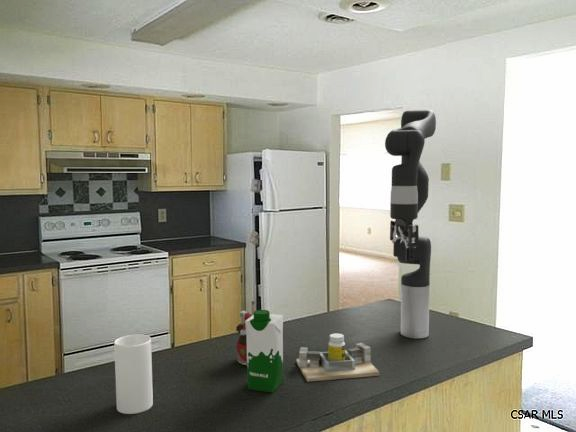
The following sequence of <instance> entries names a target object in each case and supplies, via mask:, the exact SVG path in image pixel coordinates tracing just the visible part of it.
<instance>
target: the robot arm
mask: <svg viewBox="0 0 576 432" xmlns="http://www.w3.org/2000/svg"><path fill="white" fill-rule="evenodd" d="M400 118H401V121H400V127H399V128H395V129H392V130H390V131H389V132H388V134H387V135H386V137H385V142H384V146H385V150H386V152H387V153H388V154H389V155H391V156H393V157H401V164H395V165H394V166H392V168H391V187H390V188H391V190H390V202H389V203H390V204H389V205H390V212H389V213H390V214H389V215H390V218H391V219H392V220H390V223H389V225H390V227H389V228H390V231H389V240H390V241H391V243H392V244H393V250H392V251H393V253H392V254H393V257H395V258H397V261H398V263H400V264H406V265H407V264H408V265H419V268H418V269H415V270H414V271H411V272H407V273H404V274H402V276H401V278H400V283H401V284H400V335H401V336H403V337H406V338H410V339H425V338H427V337H429V334H430V333H429V331H430V326H429V325H430V285H431V284H430V282H431V281H430V275H431V273H430V272H431V271H430V270H431V257H432V256H431V255H432V243H431V240H430V238H429V237H428V236H419V225H418V224H413V223H414V220H416V219H418V214H419V213H420V211H422V210H421V209H423V207H424V205H425V204H426V203H427V201H428V197H429V185H430V184H429V182H430V181H429V179H430V178H429V175H428V172H427V171H426V169H425V167H424V166H423V164H422V163H421V162H420V159H421V155H422V154H423V150H424V147H425V143H426V141H425V139H427V138H431V137H433V136H434V135H435V132H436V127H437V118H436V114H435V113H434V111H433V110H430V109H417V110H416V109H413V110H405V111H403V113H402V115H401V117H400Z"/></svg>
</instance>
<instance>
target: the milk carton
mask: <svg viewBox="0 0 576 432" xmlns="http://www.w3.org/2000/svg"><path fill="white" fill-rule="evenodd" d="M251 315H252V314H251ZM244 323H245V324H246V337H247V365H246V375H247V380H246V381H247V390H251V391H252V390H253V391H257V392H263V393H264V392H265V393H266V392H267V393H272V394H273V393H275V391H277V389H278V388H279V387H280V385H281V384H282V383H283V379H284V378H283V377H284V371H283V370H284V353H283V352H284V341H283V339H284V338H283V337H284V336H283V335H284V334H283V333H284V331H283V330H284V329H283V328H284V315H283V314H275V313H271V312H270V311H269V310H266V309H258V310H255V311H254V315H252V316H251V317H250V318H248V319H247V320H246V321H245V320H244Z"/></svg>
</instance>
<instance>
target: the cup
mask: <svg viewBox="0 0 576 432" xmlns="http://www.w3.org/2000/svg"><path fill="white" fill-rule="evenodd" d="M113 342H114V344H113V345H114V348H113V349H114V368H115V369H114V372H115V399H116V400H115V401H116V410H117V412H118V413H121V414H124V415H133V414H140V413H143V412H146V411H148V410H149V409H151V408H152V407H153V404H154V399H153V397H154V396H153V389H154V388H153V363H152V362H153V361H152V360H153V359H152V358H153V357H152V338H151V336H149V335H145V334H128V335H123V336H121V337H118V338H116V339H115V340H114V341H113Z"/></svg>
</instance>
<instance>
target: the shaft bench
mask: <svg viewBox="0 0 576 432" xmlns="http://www.w3.org/2000/svg"><path fill="white" fill-rule="evenodd" d="M371 348H372V347H371V346H369V345H367V344H365V343H363V342H359V343H355V347H353V348H348V349H345V360H343V361H331V362H328V351H318V350H317V351H314V350H313V351H312V350H311V351H309V350H308V349H309V348H308V347H303V346H301V347H300V349H299V352H298V353H299V355H298V358H296V359H295V360H296V362H295V363H296V364H297V366H298V368H299V369H300V372H301V374H302V375H303V377H304V378H305V381H306V382H320V381H321V382H322V381H332V380H343V379H344V380H345V379H354V378H356V379H358V378H366V377H377V376H378V377H379V376H380V371H379V369H377V368H376V367H375V365H373V363H372V362H371V354H372V353H371V352H372V349H371Z"/></svg>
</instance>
